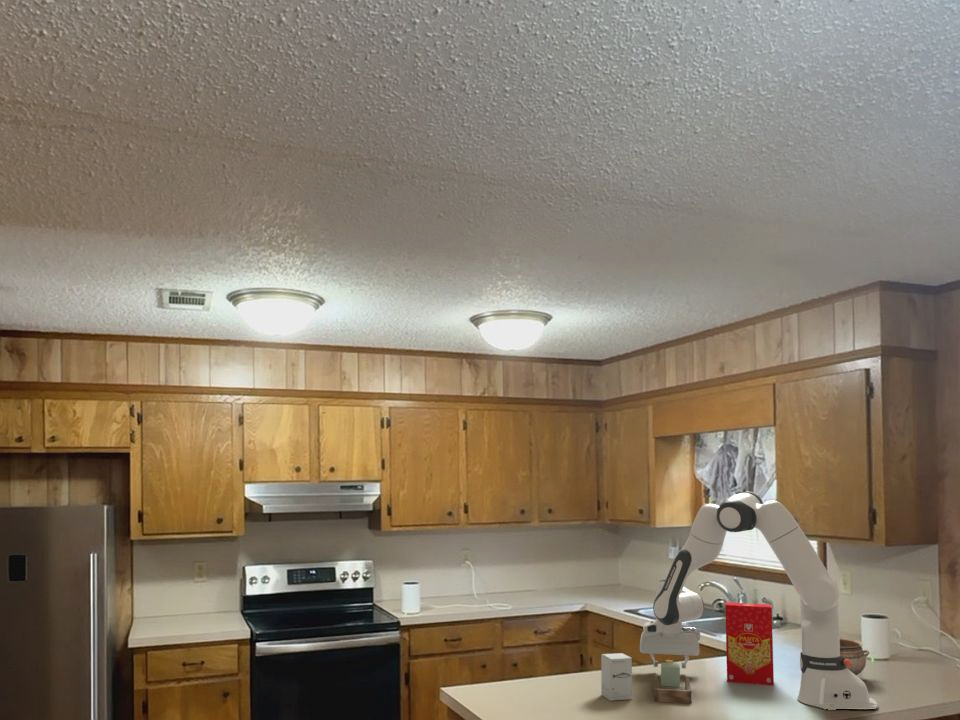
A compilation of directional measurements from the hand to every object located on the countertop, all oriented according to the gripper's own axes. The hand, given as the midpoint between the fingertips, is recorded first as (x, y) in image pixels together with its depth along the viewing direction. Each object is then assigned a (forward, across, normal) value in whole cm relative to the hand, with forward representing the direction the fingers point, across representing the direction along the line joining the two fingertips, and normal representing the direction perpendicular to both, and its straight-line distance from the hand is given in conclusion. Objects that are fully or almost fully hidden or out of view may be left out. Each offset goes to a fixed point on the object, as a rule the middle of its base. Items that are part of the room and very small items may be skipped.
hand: (669, 667), depth 305 cm
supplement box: (+2, +17, +34) cm, 38 cm away
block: (+2, 0, +8) cm, 8 cm away
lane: (+2, 0, +28) cm, 28 cm away
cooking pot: (+2, -55, -4) cm, 55 cm away
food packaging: (+2, -26, +6) cm, 27 cm away
